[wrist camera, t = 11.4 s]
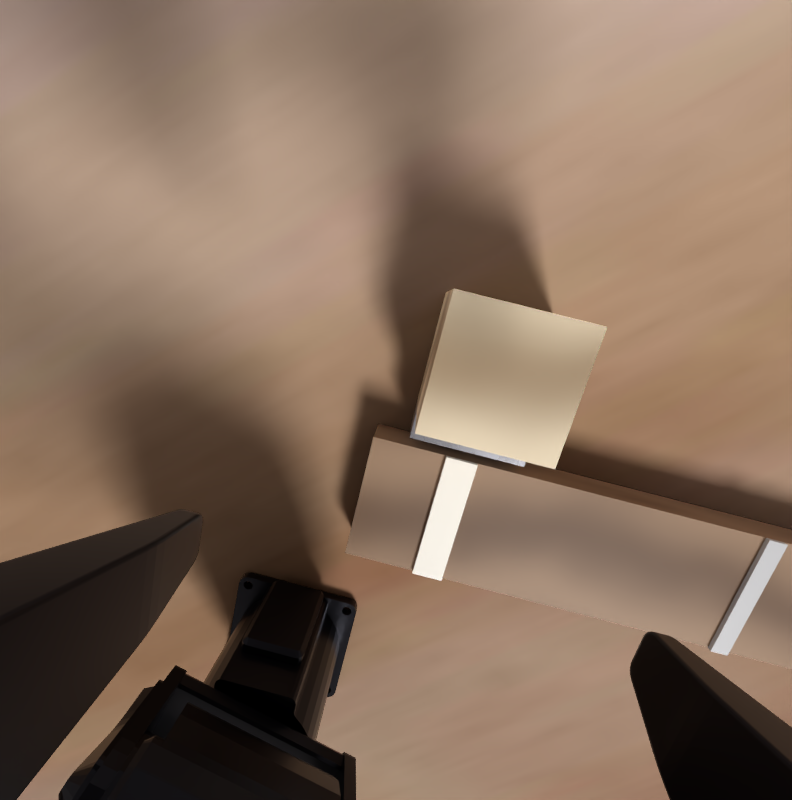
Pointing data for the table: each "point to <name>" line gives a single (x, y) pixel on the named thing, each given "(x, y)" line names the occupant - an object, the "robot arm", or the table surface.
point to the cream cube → (504, 379)
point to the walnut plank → (578, 546)
